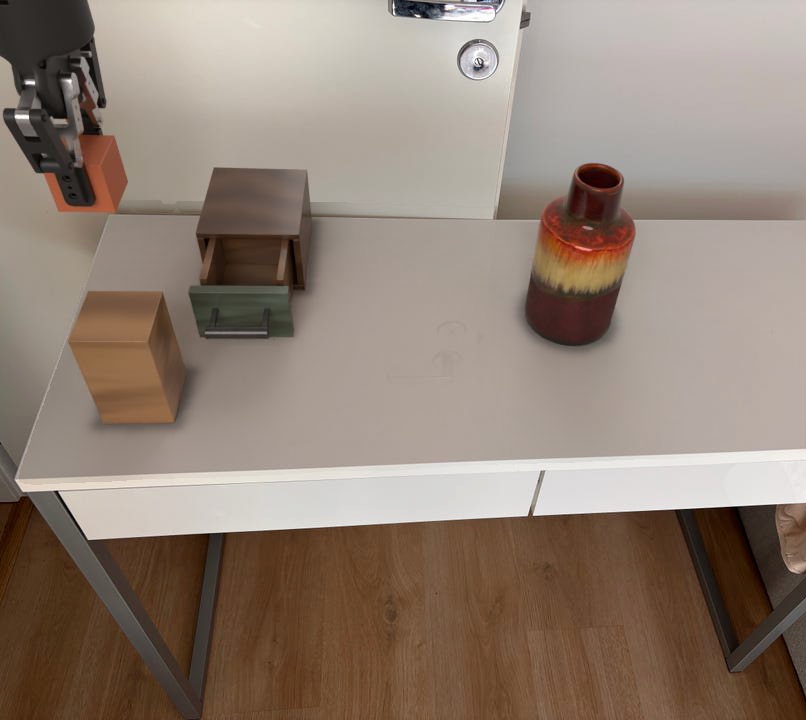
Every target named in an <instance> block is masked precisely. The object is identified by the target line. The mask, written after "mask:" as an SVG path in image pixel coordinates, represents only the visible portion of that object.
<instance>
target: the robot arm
mask: <svg viewBox="0 0 806 720" xmlns="http://www.w3.org/2000/svg"><path fill="white" fill-rule="evenodd" d="M95 26H96V25H95V22H94V19H93V15H92V11H91V7H90V4H89V1H88V0H0V57H1V58H3V60H6V61H7V62H8V63H9V64H10V66H11V72H12V77H13V82H14V87H15V90H16V94H17V95H18V96H19V100H18V104H17V107H4V108H3V111H2V119H3V123H4V125H5V126H6V127H7V129H8V130H9V132H10V134H11V135H12V137H13V139H14V140H15V142H16V144H17V145H18V147H19V148H20V151H21V152H22V153H23V155H24V156H25V158H26V160H27V161H28V163H29V165H30V167H31V168H32V169H33V171H34V172H35V173H36V174H44V173H54V174H55V176H56V179H57V182H58V184H59V187H60V190H61V192H62V195H63V198H64V200H65V202H66V204H68V205H70V206H81V207H91V206H93V205H94V203H95V200H96V196H95V193H94V190H93V187H92V184H91V181H90V178H89V175H88V172H87V170H86V167H85V163H84V162H83V157H82V153H81V148H80V143H79V135H104V133H103V130H102V127H103V125H104V117H103V115H102V111H101V110H100V109H102V110H103V109H104V110H105V109H106V108H107V98H106V93H105V88H104V83H103V78H102V73H101V68H100V62H99V61H100V60H99V56H98V51H97V47H96V40H95V36H94V35H95V32H96V27H95ZM55 120H65V121H66V123H54V122H55ZM60 137H62V138H64V139H65V140H66V142H67V146H68V151H67V149H66V147H65V145H64V143H63V142H62V140H61V138H60Z"/></svg>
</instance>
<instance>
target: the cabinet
mask: <svg viewBox="0 0 806 720" xmlns="http://www.w3.org/2000/svg"><path fill="white" fill-rule="evenodd" d="M308 175H309V174H308V170H307V169H297V168H295V169H293V168H292V169H291V168H290V169H288V168H260V167H259V168H258V167H257V168H256V167H255V168H253V167H220V166H219V167H218V166H217V167H213V169H212V173H211V176H210V179H209V182H208V187H207V190H206V194H205V198H204V201H203V205H202V208H201V212H200V215H199V219H198V222H197V226H196V230H195V236H196V242H197V246H198V250H199V254H200V259H201V263H202V264H203V262H204V259H205V255H206V251H207V247H208V243H209V239H210V238H216V239H284V240H293V248H294V256H295V265H296V266H295V274H294V282H293V290H292V291H306V286H307V277H308V276H307V275H308V267H309V256H310V250H311V249H310V247H311V238H312V231H313V230H312V229H313V218H312V206H311V198H310V197H311V195H310V187H309V186H310V185H309V176H308Z"/></svg>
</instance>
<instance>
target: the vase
mask: <svg viewBox="0 0 806 720" xmlns="http://www.w3.org/2000/svg"><path fill="white" fill-rule="evenodd" d="M624 185H625V178H624V176H623V174H622V173H621V171H619V170H618V169H617V168H615V167H613V166H611V165H608V164H605V163H601V162H587V163H583V164H580V165H578V167H576V168H575V169H574V172H573V174H572V177H571V181H570V185H569V188H568V191H567V194H566V195H562V196H559V197H557V198H555V199H553V200H552V201H550V202H548V204H546V206H544V208H543V210H542V212H541V215H540V220H539V224H538V230H537V235H536V236H537V237H536V242H535V248H534V253H533V258H532V264H531V270H530V276H529V281H528V287H527V294H526V300H525V306H524V315H525V320H526V322H527V323H528V326H529V327H530V328H531V329H532V330H533V332H535V333H536V334H537V335H539V336H540V337H541V338H543V339H545V340H547V341H549V342H552V343H553V344H558V345H562V346H566V347H567V346H569V347H581V346H587V345H590V344H593V343H595V342H597V341H599V340H600V339H602V338H603V337H604V336H605V335H606V333H607V332H608V330H609V328H610V325H611V323H612V322H611V321H612V319H613V315H614V312H615V309H616V304H617V301H618V298H619V294H620V291H621V287H622V284H623V281H624V278H625V277H624V276H625V273H626V269H627V266H628V263H629V259H630V256H631V253H632V249H633V246H634V242H635V238H636V234H637V233H636V232H637V229H636V223H635V220H634V219H633V217H632V216H631V214H630V213H629V212H628V211H627V210H626V209H625V208H624V207H623V206H621V202H622V198H623V197H622V196H623V191H624Z"/></svg>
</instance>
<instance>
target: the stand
mask: <svg viewBox="0 0 806 720" xmlns="http://www.w3.org/2000/svg"><path fill="white" fill-rule="evenodd" d="M67 343H68V345H69V348H70V350H71V352H72V355H73V357H74V359H75V362H76V363H77V366H78V369H79V371H80V373H81V375H82V377H83V380H84V382H85V384H86V386H87V389H88V391H89V394H90V395H91V398H92V400H93V403H94V405H95V408H96V409H97V411H98V414H99V416H100V419H101V421H102V423H103V424H104V425H108V424H110V425H112V424H117V425H119V424H171V423H172V424H175V422H176V418H177V413H178V410H179V406H180V401H181V397H182V393H183V390H184V384H185V382H186V381H185V380H186V377H187V371H186V367H185V363H184V360H183V356H182V353H181V350H180V346H179V342H178V339H177V336H176V332H175V329H174V326H173V323H172V319H171V315H170V311H169V308H168V305H167V302H166V298H165V296H164V291H161V290H160V291H159V290H150V291H149V290H88V291H87V292H86V294H85V298H84V300H83V302H82V305H81V307H80V309H79V312H78V315H77V317H76V320H75V322H74V324H73V327H72V330H71V332H70V335H69V338H68V339H67Z"/></svg>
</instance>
